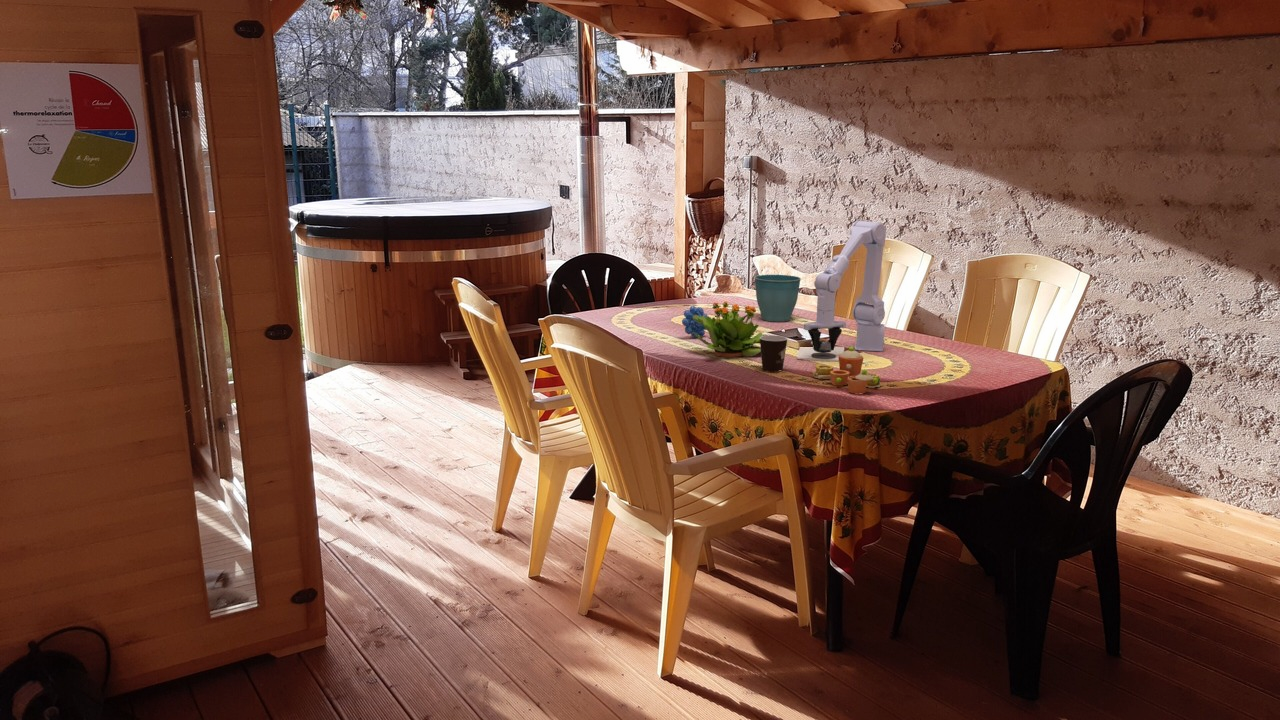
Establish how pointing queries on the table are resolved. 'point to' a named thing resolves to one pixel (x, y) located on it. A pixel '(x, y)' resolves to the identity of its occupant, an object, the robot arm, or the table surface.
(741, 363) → the table surface
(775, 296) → the flower pot
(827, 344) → the knob
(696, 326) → the grapes
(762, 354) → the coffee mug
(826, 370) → the toy tea set
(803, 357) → the board
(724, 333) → the potted flower
